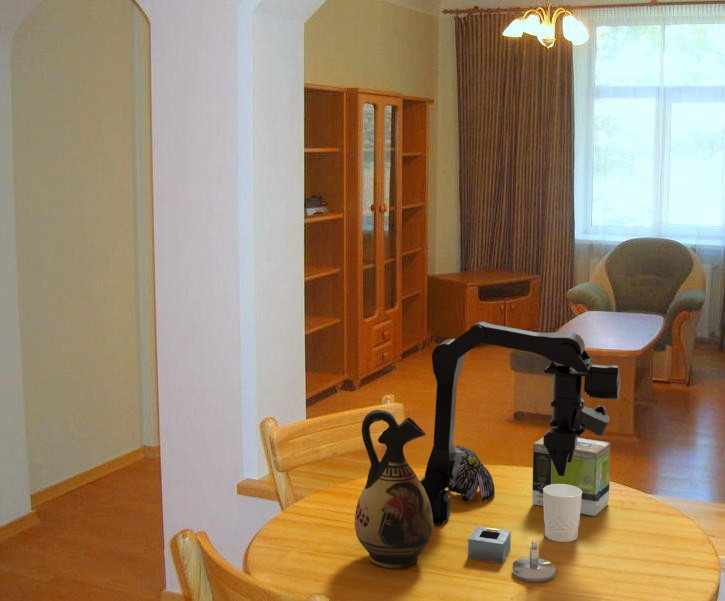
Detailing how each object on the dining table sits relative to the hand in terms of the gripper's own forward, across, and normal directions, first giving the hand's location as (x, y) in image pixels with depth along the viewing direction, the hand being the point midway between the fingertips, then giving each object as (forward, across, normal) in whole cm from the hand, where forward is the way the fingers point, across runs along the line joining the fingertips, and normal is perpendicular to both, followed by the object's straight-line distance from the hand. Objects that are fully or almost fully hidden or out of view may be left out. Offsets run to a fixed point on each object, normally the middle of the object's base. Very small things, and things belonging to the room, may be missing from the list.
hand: (564, 468), depth 202 cm
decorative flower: (+15, +17, +25) cm, 34 cm away
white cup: (+15, 0, 0) cm, 15 cm away
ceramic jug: (+15, -23, +30) cm, 41 cm away
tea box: (+15, +19, +1) cm, 24 cm away
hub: (+15, -20, +2) cm, 25 cm away
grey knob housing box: (+15, -14, +12) cm, 24 cm away
